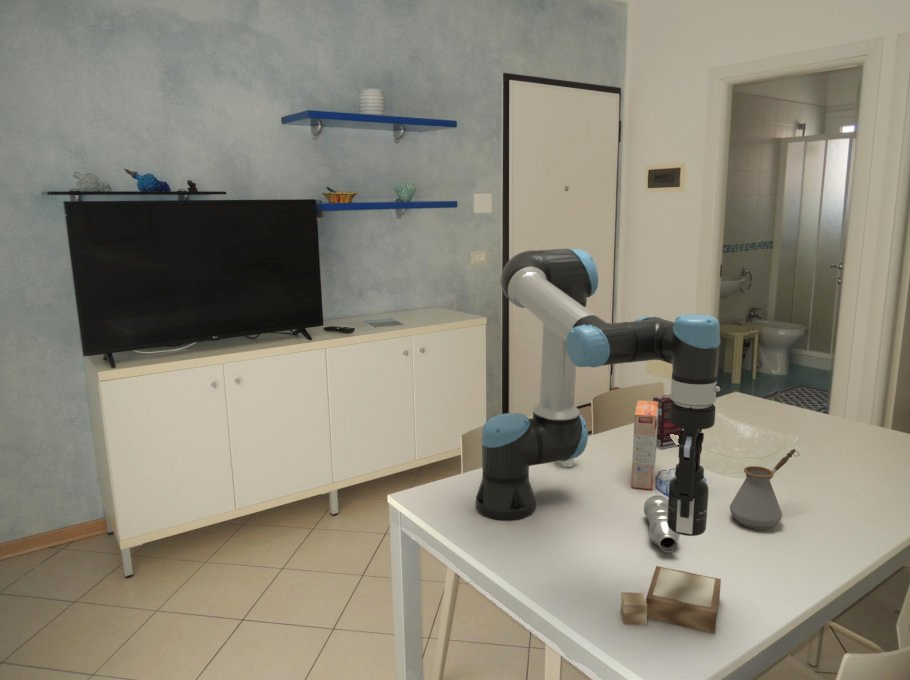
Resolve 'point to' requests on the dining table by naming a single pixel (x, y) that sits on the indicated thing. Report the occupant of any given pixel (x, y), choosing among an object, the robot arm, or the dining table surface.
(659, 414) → the supplement box
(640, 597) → the beech cube
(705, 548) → the dining table surface
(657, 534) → the plastic bottle
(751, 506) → the coffee pot
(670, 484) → the supplement bottle
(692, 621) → the base
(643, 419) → the cracker box
